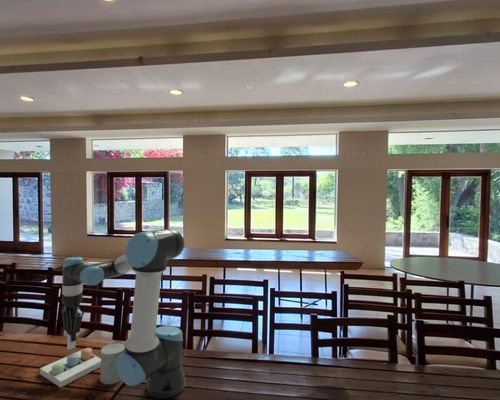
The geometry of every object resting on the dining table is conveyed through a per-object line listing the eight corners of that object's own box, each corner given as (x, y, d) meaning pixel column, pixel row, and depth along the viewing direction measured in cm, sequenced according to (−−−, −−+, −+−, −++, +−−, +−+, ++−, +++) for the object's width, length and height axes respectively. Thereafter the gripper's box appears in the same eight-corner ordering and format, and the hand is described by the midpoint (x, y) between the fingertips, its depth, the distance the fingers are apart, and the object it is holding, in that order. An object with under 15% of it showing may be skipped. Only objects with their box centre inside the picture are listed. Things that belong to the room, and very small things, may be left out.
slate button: (80, 365, 127) (80, 355, 127) (70, 370, 123) (70, 360, 123) (75, 362, 129) (75, 352, 129) (64, 367, 125) (64, 357, 125)
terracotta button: (93, 359, 132) (94, 349, 132) (84, 364, 128) (84, 353, 128) (88, 356, 134) (88, 346, 134) (78, 360, 130) (78, 351, 130)
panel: (103, 365, 130) (103, 359, 130) (60, 387, 114) (60, 381, 114) (82, 354, 138) (82, 349, 138) (40, 374, 122) (40, 368, 122)
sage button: (66, 375, 121) (66, 364, 121) (55, 381, 118) (55, 370, 118) (60, 372, 124) (60, 361, 124) (49, 377, 120) (49, 366, 120)
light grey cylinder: (129, 371, 126) (130, 343, 126) (117, 385, 116) (118, 355, 116) (108, 369, 127) (109, 341, 127) (94, 383, 117) (95, 353, 117)
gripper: (90, 293, 125) (89, 348, 125) (72, 288, 131) (71, 340, 131) (73, 298, 118) (71, 356, 118) (54, 293, 124) (53, 347, 124)
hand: (71, 347), depth 125 cm, fingers closed
